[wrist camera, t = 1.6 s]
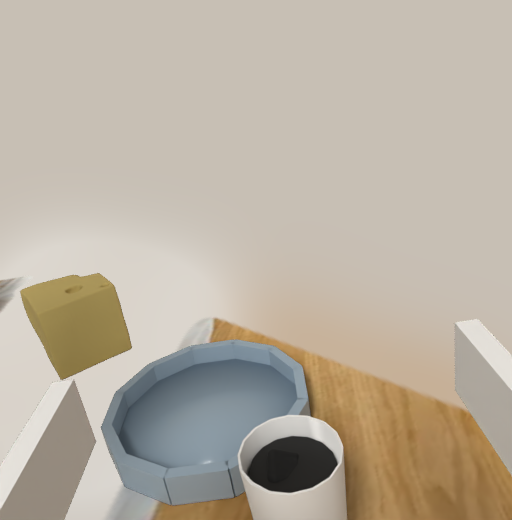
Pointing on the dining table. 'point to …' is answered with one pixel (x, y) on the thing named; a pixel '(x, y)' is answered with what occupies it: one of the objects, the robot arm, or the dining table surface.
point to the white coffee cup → (294, 470)
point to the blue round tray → (199, 418)
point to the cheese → (77, 321)
